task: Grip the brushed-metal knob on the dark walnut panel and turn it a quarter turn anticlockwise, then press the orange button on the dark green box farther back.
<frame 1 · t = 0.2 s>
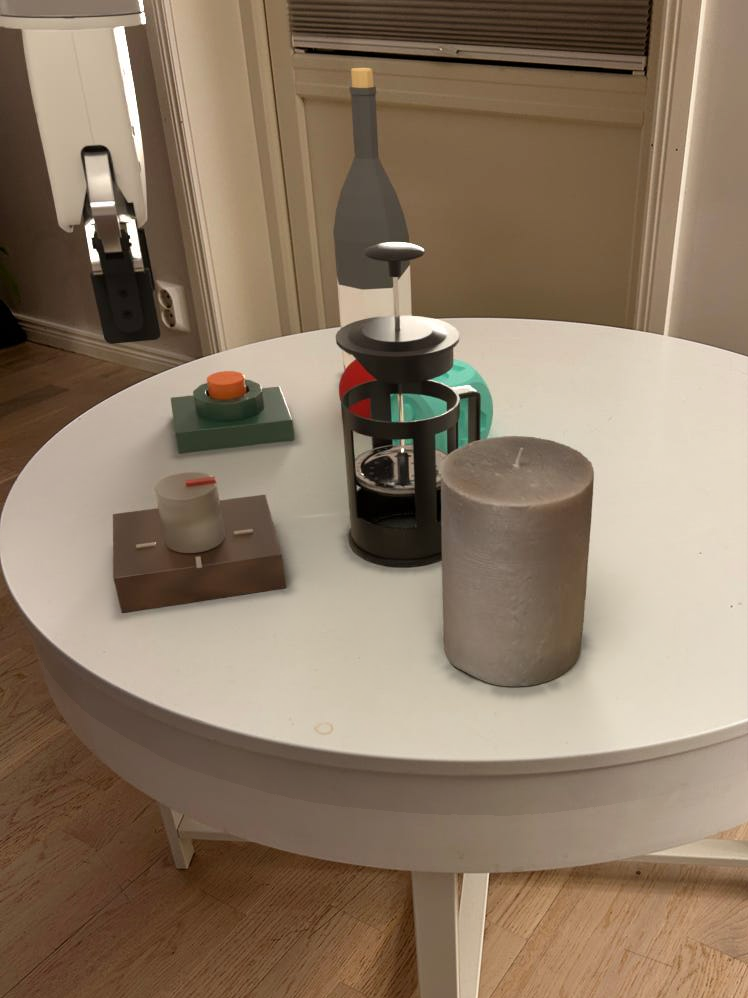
hand: (132, 315, 63), 21 cm above the table, tool pointing down, fingers open, 9 cm apart
dial panel: (200, 566, 78), on the table
start button: (226, 386, 97), point 4 cm above the table, slide at 0.1 cm
dial knob: (190, 510, 74), point 5 cm above the table, hinge at 0.0°
french press: (411, 538, 82), on the table
wine bottle: (378, 378, 111), on the table
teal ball: (435, 454, 95), on the table
pillar candle: (511, 648, 70), on the table
christmas ornament: (377, 426, 101), on the table
button box: (233, 429, 99), on the table
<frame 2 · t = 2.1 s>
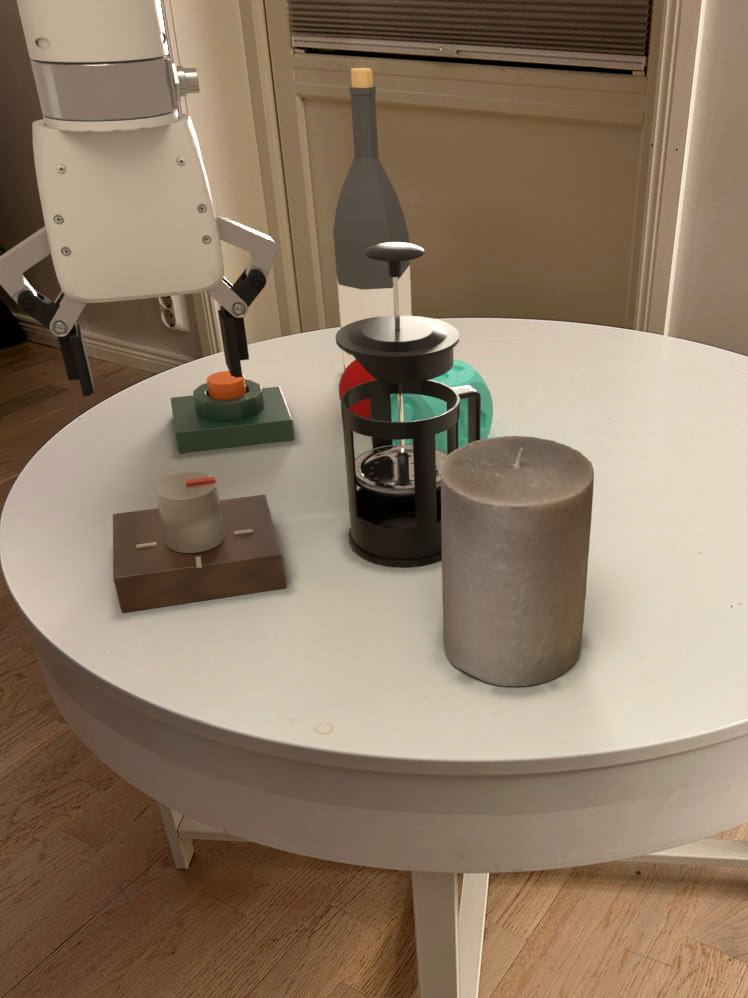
hand: (162, 379, 67), 16 cm above the table, tool pointing down, fingers open, 9 cm apart
nothing on the table moved.
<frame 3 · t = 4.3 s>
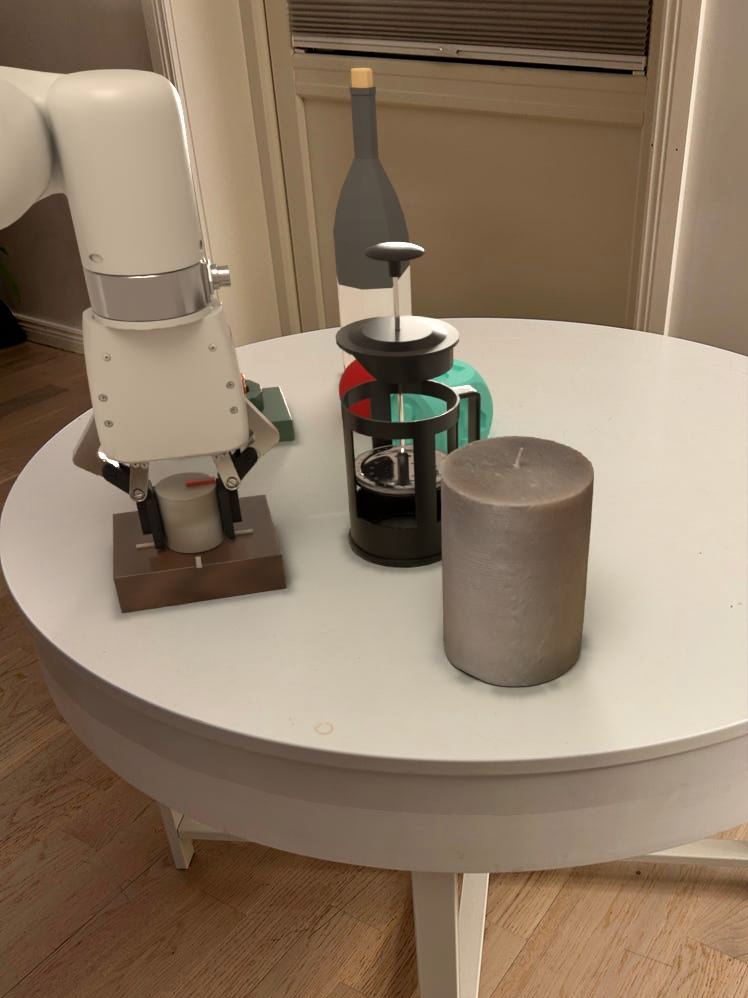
hand: (194, 533, 75), 4 cm above the table, tool pointing down, fingers closed on dial knob, 4 cm apart
dial knob: (190, 510, 74), point 5 cm above the table, hinge at 0.0°, touching gripper
everything else where it was.
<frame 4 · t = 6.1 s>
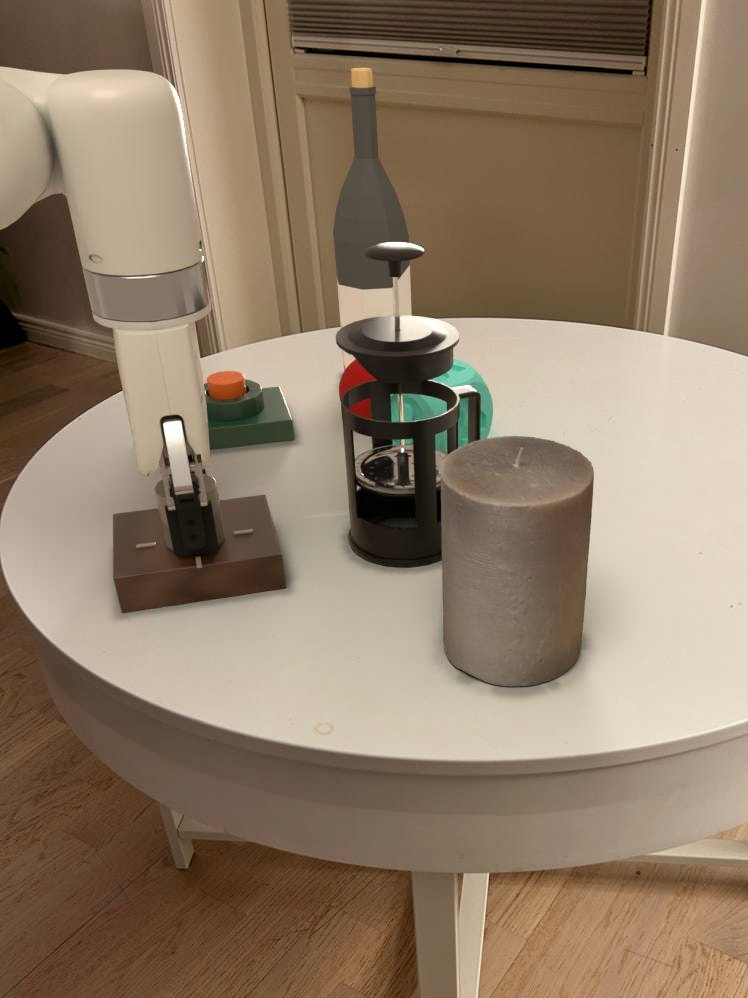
hand: (194, 533, 75), 4 cm above the table, tool pointing down, fingers closed on dial knob, 4 cm apart
dial knob: (190, 510, 74), point 5 cm above the table, hinge at 90.9°, touching gripper
everything else where it was.
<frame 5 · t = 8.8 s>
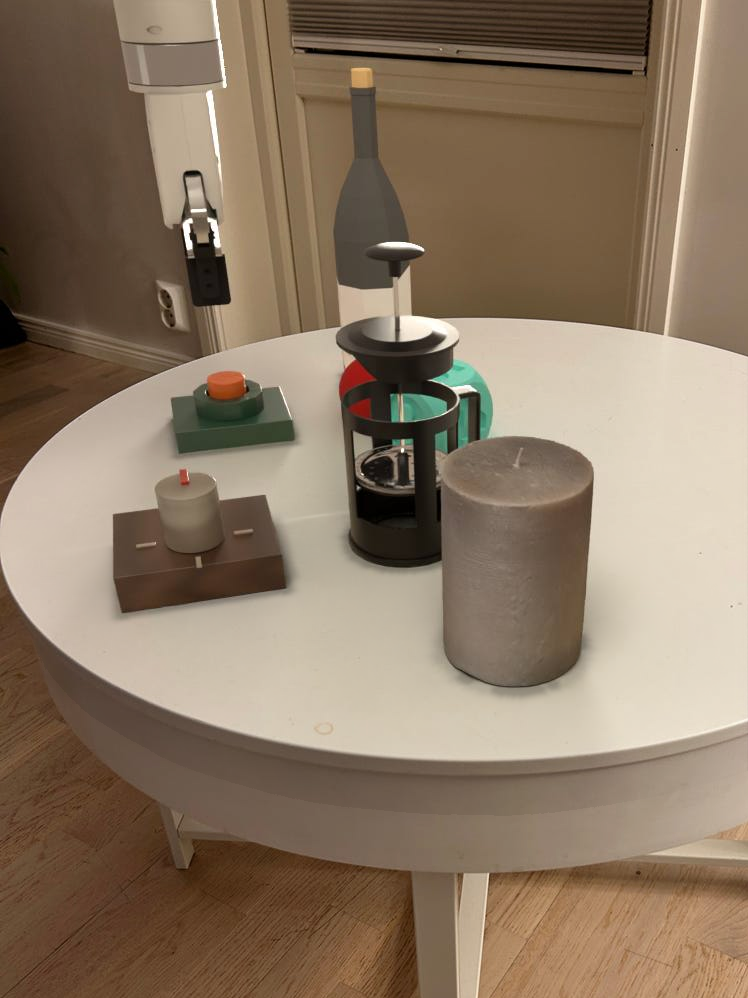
hand: (208, 288, 88), 15 cm above the table, tool pointing down, fingers open, 9 cm apart
dial knob: (190, 510, 74), point 5 cm above the table, hinge at 90.4°
everything else where it was.
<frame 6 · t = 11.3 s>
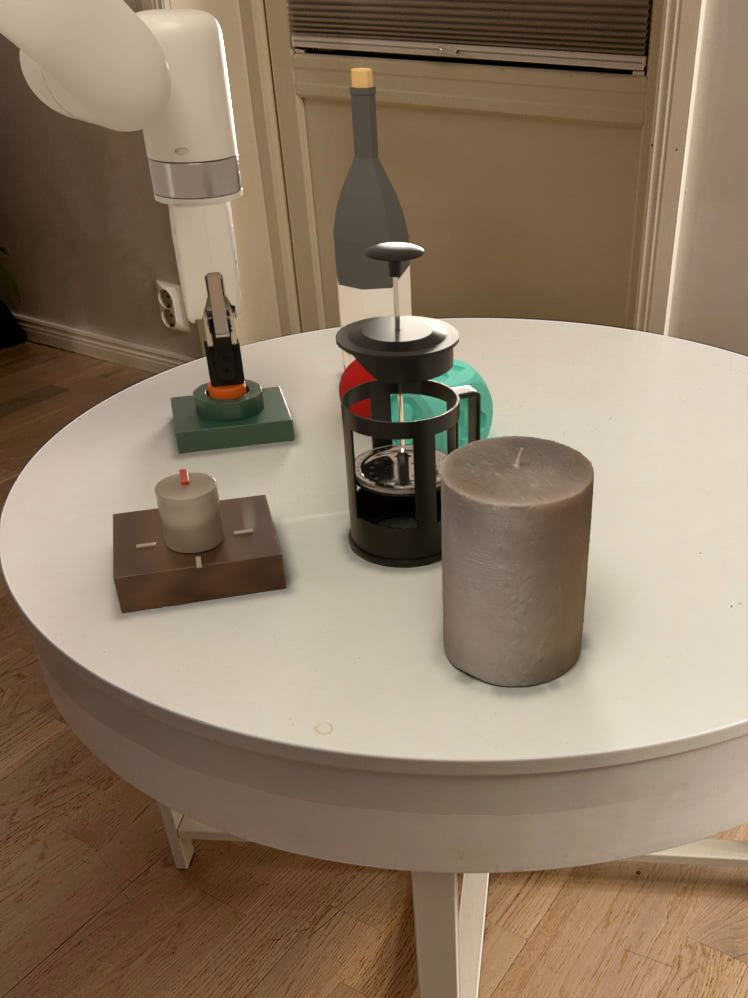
hand: (227, 382, 97), 5 cm above the table, tool pointing down, fingers closed
start button: (227, 391, 97), point 4 cm above the table, slide at -0.5 cm, touching gripper
everything else where it was.
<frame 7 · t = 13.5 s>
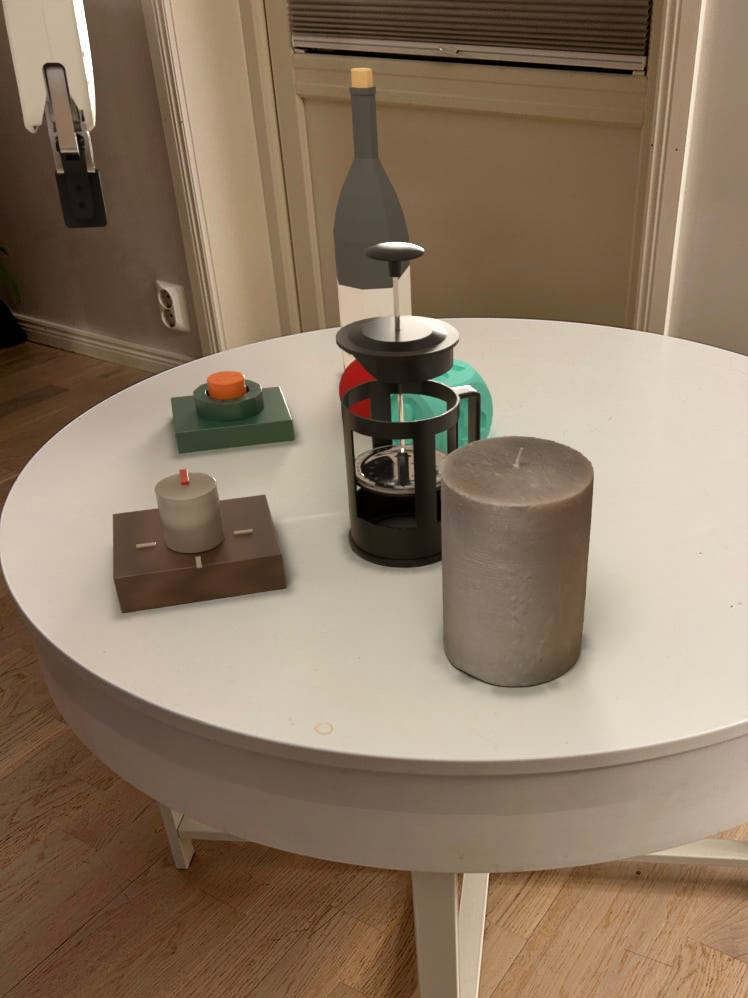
hand: (87, 224, 80), 21 cm above the table, tool pointing down, fingers closed
start button: (226, 386, 97), point 4 cm above the table, slide at 0.1 cm
everything else where it was.
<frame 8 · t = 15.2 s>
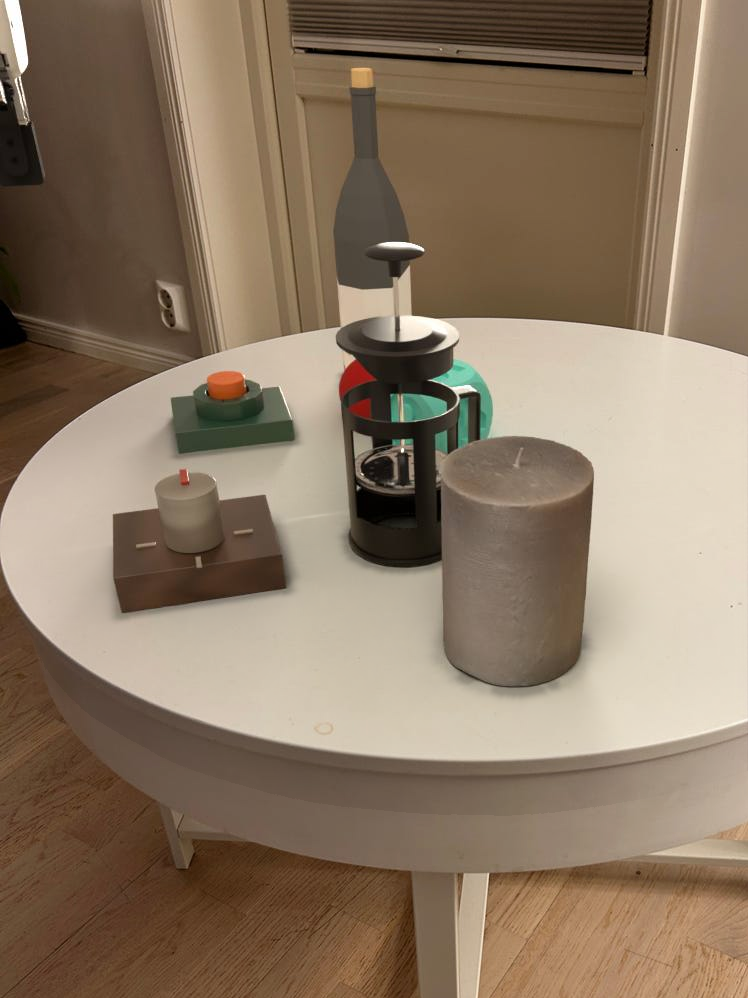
hand: (22, 182, 75), 25 cm above the table, tool pointing down, fingers closed
nothing on the table moved.
at the end: dial knob at +90° (first picture: +0°); start button pushed in 1.1 cm at the most during the clip, back to where it started at the end; start button slide at 0.1 cm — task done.
